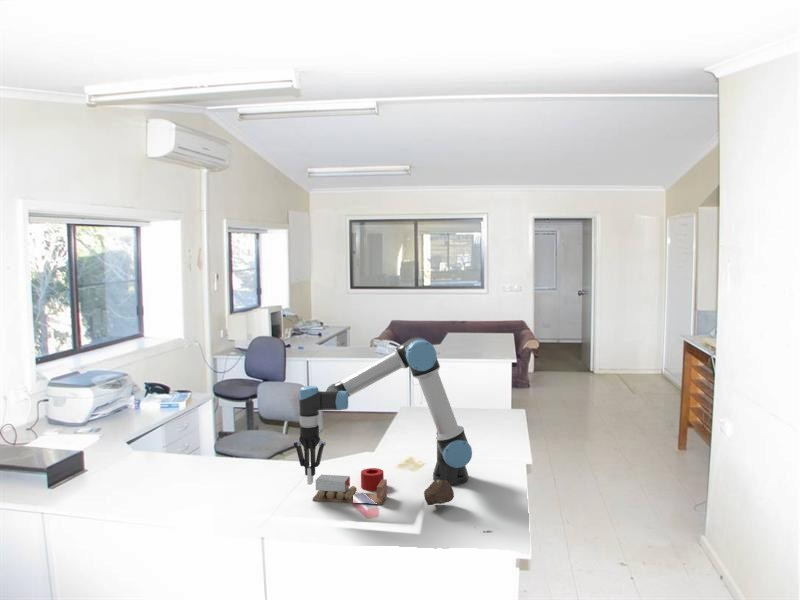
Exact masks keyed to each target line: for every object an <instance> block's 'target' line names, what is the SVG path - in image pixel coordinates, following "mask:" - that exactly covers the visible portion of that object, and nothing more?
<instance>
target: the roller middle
mask: <svg viewBox="0 0 800 600" xmlns="http://www.w3.org/2000/svg"><path fill="white" fill-rule="evenodd" d="M336 493H337V492H336V491H328V492H327V494H326V496H327V498H328V499H332V498H333V497H334V496H335V495H336Z"/></svg>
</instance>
